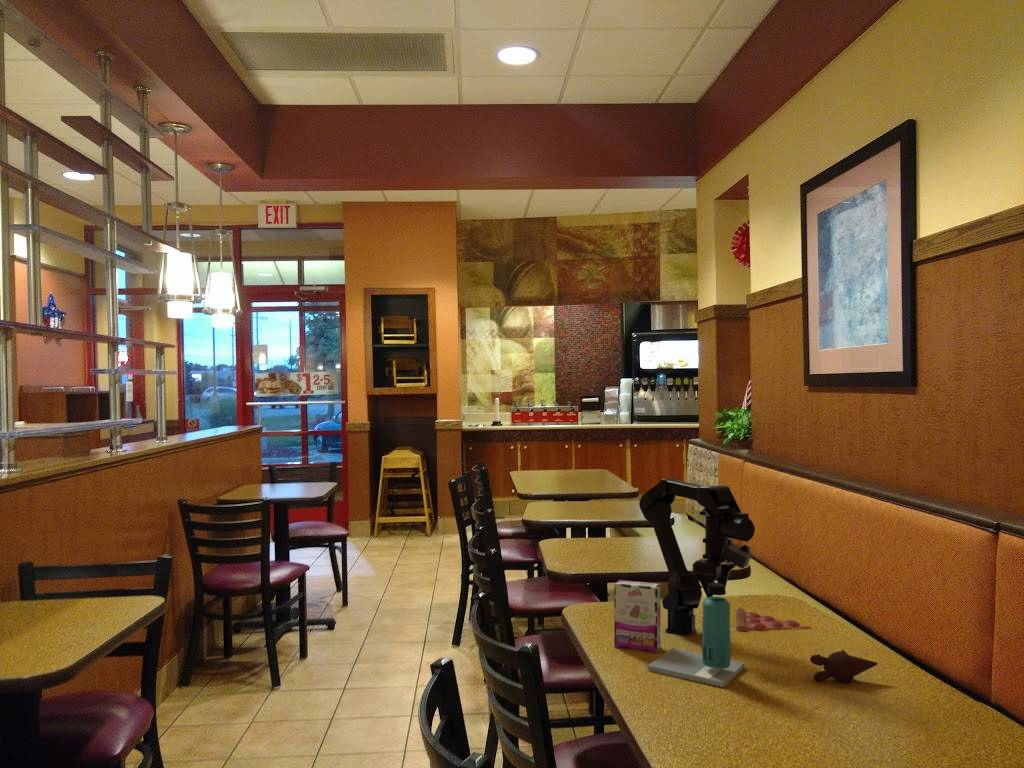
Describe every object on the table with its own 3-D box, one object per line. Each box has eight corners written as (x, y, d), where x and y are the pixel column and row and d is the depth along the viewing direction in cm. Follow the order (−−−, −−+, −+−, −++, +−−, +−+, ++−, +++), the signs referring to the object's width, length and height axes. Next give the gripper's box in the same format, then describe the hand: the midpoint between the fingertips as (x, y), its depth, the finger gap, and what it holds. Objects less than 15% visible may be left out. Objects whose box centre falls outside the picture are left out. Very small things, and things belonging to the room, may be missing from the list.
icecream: (866, 646, 180) (803, 651, 180) (881, 648, 173) (815, 654, 173) (872, 677, 178) (808, 683, 178) (887, 681, 171) (820, 687, 171)
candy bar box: (661, 647, 197) (661, 583, 197) (657, 653, 192) (657, 587, 192) (618, 641, 201) (618, 578, 201) (613, 647, 197) (613, 583, 197)
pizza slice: (736, 607, 229) (808, 613, 223) (736, 614, 229) (807, 621, 223) (736, 625, 211) (814, 632, 205) (736, 633, 211) (814, 641, 205)
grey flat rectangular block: (647, 670, 181) (648, 664, 181) (672, 652, 193) (672, 647, 193) (723, 687, 170) (723, 681, 170) (744, 667, 183) (744, 662, 183)
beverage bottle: (734, 669, 178) (735, 582, 178) (725, 678, 173) (725, 588, 173) (707, 663, 182) (708, 578, 182) (697, 672, 176) (697, 584, 176)
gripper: (736, 544, 186) (735, 608, 186) (758, 532, 202) (758, 592, 202) (691, 538, 193) (691, 601, 193) (717, 528, 208) (717, 586, 208)
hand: (716, 595), depth 199 cm, fingers open, 9 cm apart
